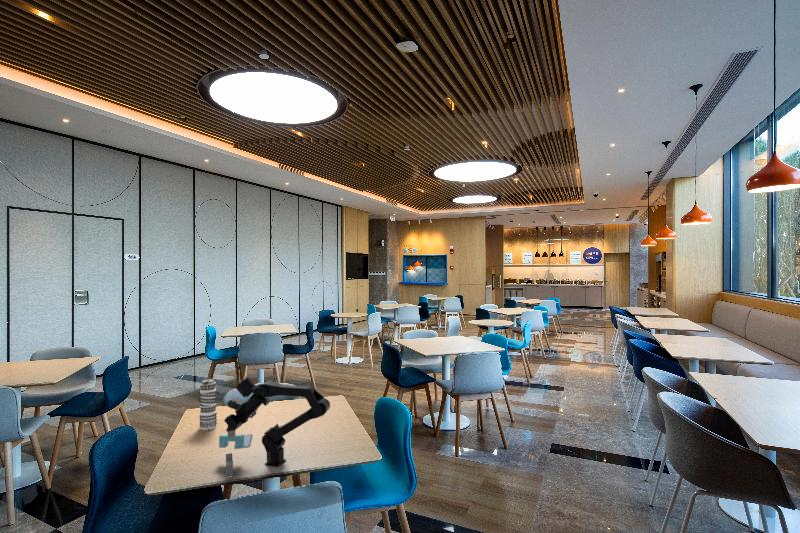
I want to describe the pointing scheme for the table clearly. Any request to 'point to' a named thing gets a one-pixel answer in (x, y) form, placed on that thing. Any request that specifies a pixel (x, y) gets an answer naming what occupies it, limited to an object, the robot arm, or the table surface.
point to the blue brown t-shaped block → (231, 439)
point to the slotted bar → (229, 465)
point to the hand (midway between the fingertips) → (228, 430)
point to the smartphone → (247, 441)
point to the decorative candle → (208, 404)
